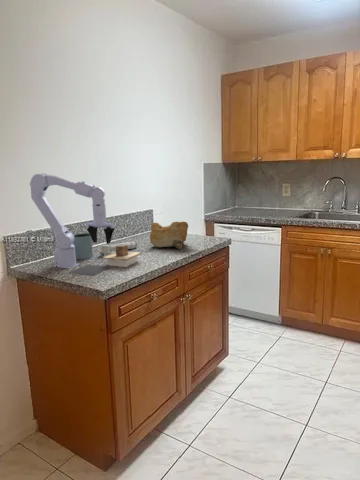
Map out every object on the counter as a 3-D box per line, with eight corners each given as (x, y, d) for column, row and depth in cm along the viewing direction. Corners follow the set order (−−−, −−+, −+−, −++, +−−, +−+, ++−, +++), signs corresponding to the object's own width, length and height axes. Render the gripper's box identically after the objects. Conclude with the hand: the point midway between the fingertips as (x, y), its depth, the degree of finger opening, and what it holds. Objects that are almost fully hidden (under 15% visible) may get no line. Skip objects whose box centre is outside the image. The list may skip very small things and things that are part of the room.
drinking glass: (97, 256, 189) (95, 233, 186) (87, 261, 179) (85, 237, 177) (80, 255, 192) (78, 232, 189) (69, 260, 182) (67, 236, 180)
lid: (102, 258, 167) (101, 247, 166) (118, 252, 179) (117, 241, 178) (126, 260, 162) (125, 249, 161) (141, 253, 174) (140, 243, 172)
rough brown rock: (198, 246, 206) (198, 220, 205) (184, 250, 192) (183, 222, 190) (163, 244, 218) (163, 219, 216) (147, 248, 204) (147, 221, 202)
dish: (108, 266, 169) (107, 257, 168) (119, 260, 178) (119, 252, 177) (126, 267, 165) (125, 259, 164) (137, 262, 174) (137, 254, 173)
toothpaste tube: (137, 241, 203) (104, 244, 182) (137, 253, 204) (104, 257, 183) (130, 240, 206) (97, 243, 185) (130, 252, 207) (97, 256, 186)
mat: (67, 273, 159) (67, 272, 159) (87, 265, 171) (87, 264, 171) (93, 276, 153) (93, 275, 153) (112, 268, 166) (112, 266, 165)
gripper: (81, 214, 167) (83, 243, 170) (107, 215, 161) (109, 245, 164) (90, 212, 173) (93, 240, 176) (116, 213, 167) (118, 242, 170)
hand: (101, 242), depth 170 cm, fingers open, 7 cm apart
